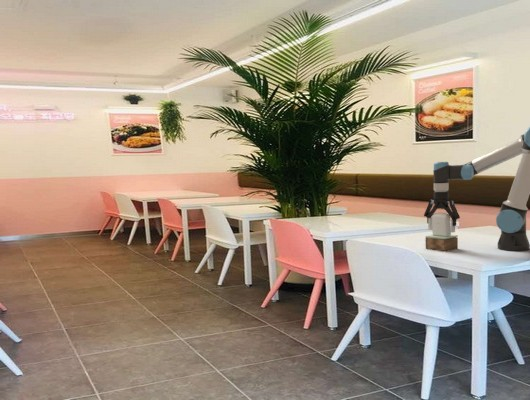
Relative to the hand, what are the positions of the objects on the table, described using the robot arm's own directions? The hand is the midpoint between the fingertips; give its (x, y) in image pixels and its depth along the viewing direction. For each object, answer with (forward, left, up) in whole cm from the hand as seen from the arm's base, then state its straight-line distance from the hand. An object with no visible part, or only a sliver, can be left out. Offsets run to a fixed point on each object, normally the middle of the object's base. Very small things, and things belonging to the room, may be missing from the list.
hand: (441, 231), depth 269 cm
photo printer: (0, 0, -3) cm, 3 cm away
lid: (0, 0, -3) cm, 3 cm away
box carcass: (0, 0, -9) cm, 9 cm away
